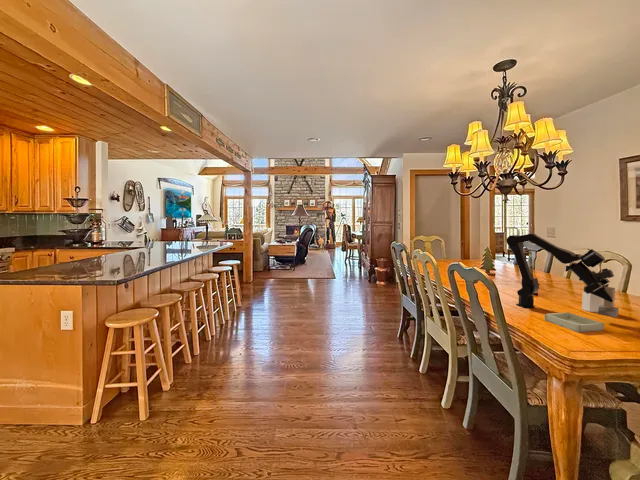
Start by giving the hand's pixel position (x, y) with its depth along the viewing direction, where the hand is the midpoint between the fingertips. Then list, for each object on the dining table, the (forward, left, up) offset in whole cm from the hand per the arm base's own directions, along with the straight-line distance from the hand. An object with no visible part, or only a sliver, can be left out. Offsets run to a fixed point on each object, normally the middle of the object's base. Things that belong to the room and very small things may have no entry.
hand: (613, 301), depth 143 cm
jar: (-18, +12, -11) cm, 24 cm away
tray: (-1, -20, -10) cm, 22 cm away
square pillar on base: (-1, -1, -7) cm, 7 cm away
